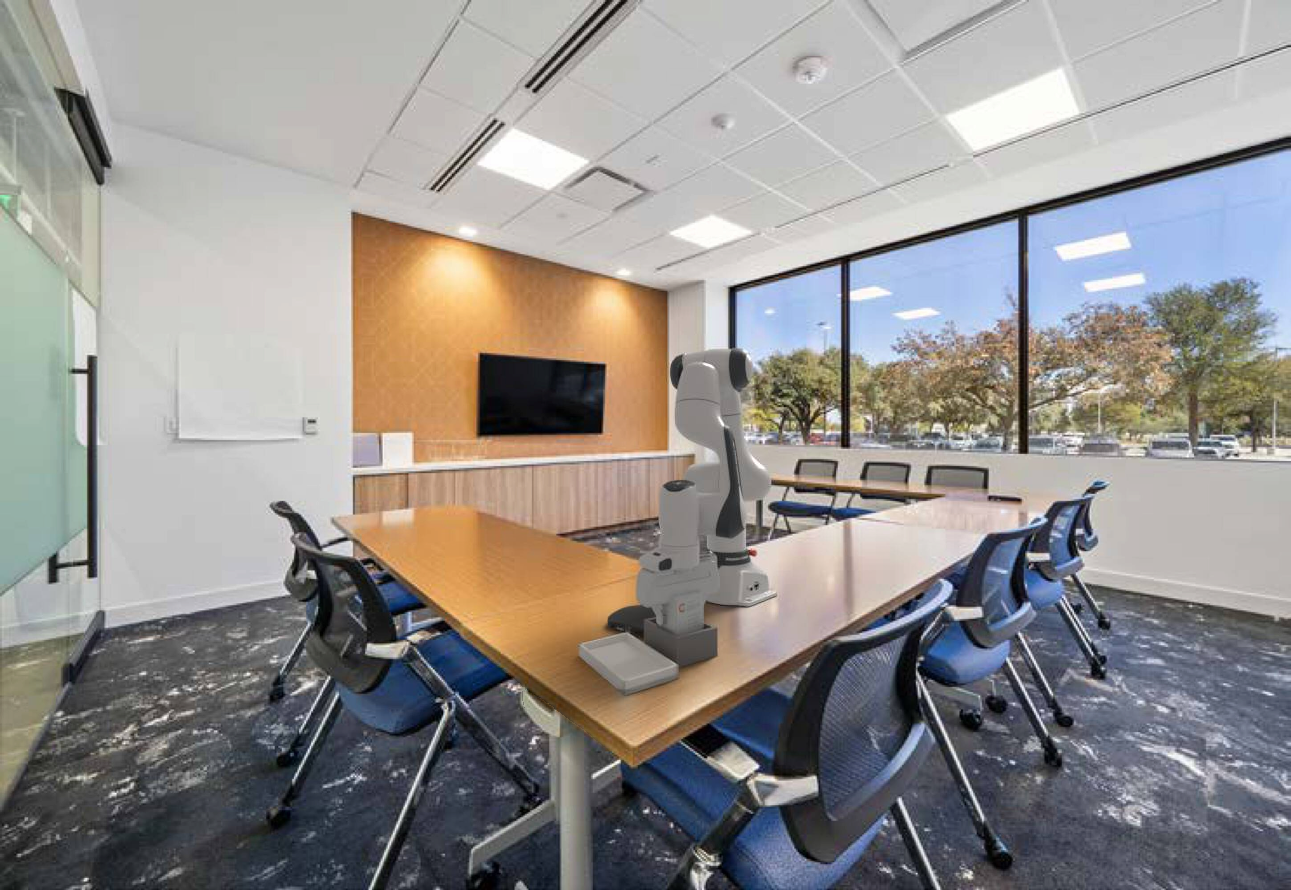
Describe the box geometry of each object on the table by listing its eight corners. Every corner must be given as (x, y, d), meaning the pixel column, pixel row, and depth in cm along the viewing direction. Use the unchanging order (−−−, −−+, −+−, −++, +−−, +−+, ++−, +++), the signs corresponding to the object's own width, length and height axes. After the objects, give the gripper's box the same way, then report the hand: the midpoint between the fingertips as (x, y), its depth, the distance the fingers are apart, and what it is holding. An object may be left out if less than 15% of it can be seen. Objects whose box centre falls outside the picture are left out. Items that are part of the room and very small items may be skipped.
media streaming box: (682, 622, 129) (682, 610, 129) (650, 642, 117) (650, 629, 117) (635, 611, 137) (635, 600, 137) (601, 629, 125) (600, 616, 125)
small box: (685, 642, 116) (684, 585, 115) (704, 651, 111) (704, 591, 110) (657, 652, 111) (656, 592, 110) (676, 662, 106) (676, 599, 105)
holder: (682, 636, 119) (682, 610, 119) (717, 655, 108) (717, 627, 108) (644, 646, 114) (643, 619, 113) (677, 668, 103) (676, 638, 103)
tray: (627, 643, 116) (627, 632, 115) (678, 678, 99) (678, 665, 98) (578, 655, 109) (578, 644, 109) (624, 695, 92) (624, 682, 92)
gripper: (707, 547, 119) (707, 606, 119) (631, 559, 108) (632, 624, 108) (725, 552, 113) (725, 614, 114) (647, 565, 103) (648, 633, 103)
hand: (679, 619), depth 111 cm, fingers closed on small box, 8 cm apart
